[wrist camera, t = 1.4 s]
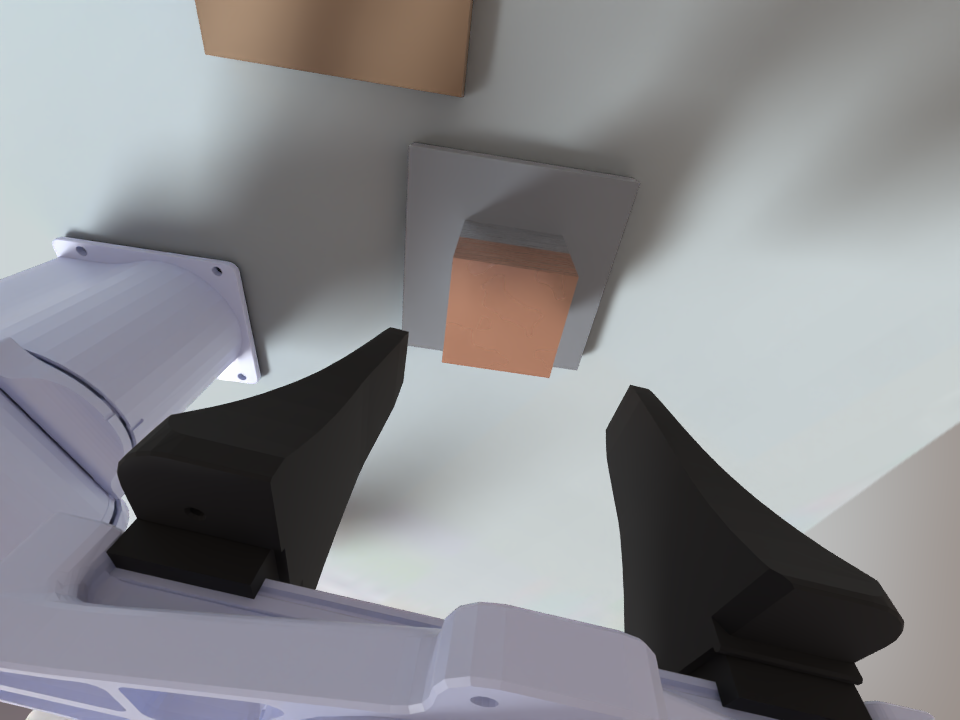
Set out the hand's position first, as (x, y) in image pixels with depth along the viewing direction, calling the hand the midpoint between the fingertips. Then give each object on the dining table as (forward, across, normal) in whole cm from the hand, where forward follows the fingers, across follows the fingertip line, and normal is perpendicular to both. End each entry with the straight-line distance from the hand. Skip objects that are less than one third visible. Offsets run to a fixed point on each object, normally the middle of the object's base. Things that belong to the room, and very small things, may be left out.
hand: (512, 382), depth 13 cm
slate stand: (+10, +1, 0) cm, 10 cm away
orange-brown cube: (+8, +1, 0) cm, 9 cm away
